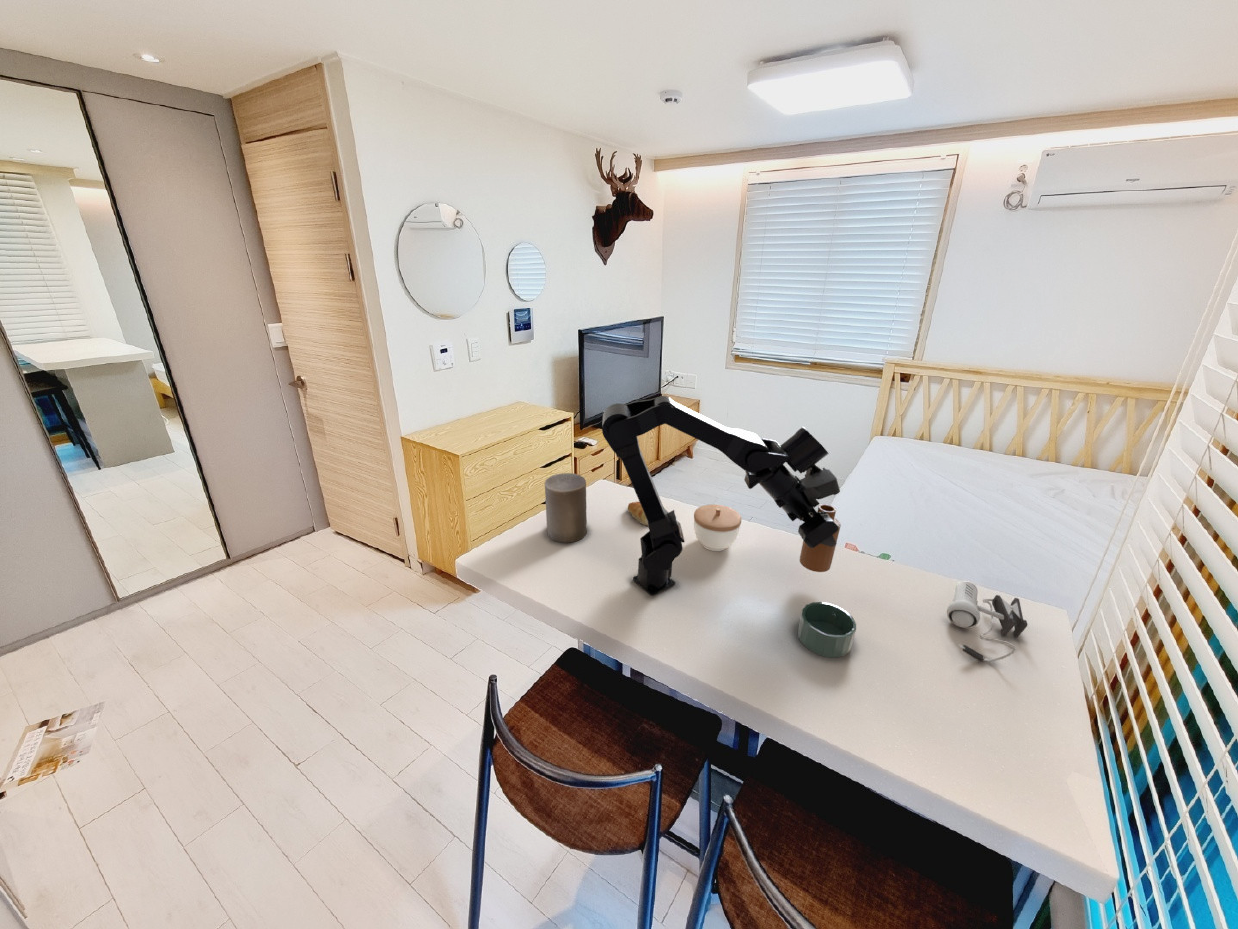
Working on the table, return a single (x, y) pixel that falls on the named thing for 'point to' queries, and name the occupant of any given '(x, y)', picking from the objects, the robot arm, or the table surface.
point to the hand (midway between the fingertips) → (827, 536)
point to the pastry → (637, 512)
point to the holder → (826, 629)
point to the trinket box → (716, 526)
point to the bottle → (820, 547)
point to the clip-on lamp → (968, 615)
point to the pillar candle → (566, 507)
